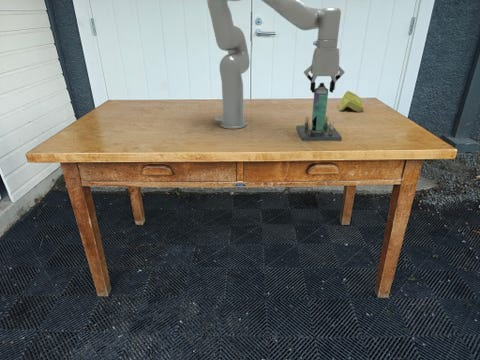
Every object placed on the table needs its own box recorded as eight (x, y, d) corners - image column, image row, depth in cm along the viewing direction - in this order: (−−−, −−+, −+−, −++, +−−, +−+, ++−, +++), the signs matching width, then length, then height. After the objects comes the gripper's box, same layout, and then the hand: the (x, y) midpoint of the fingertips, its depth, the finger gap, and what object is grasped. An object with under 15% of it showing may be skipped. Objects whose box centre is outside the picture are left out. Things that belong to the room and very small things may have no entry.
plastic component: (363, 108, 166) (347, 99, 166) (355, 120, 170) (339, 111, 170) (361, 97, 183) (345, 89, 182) (353, 108, 187) (338, 100, 186)
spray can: (321, 128, 140) (326, 81, 131) (325, 132, 135) (330, 84, 126) (309, 129, 139) (313, 82, 130) (312, 133, 135) (317, 84, 126)
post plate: (302, 140, 131) (303, 125, 128) (296, 128, 145) (297, 114, 142) (341, 140, 130) (343, 125, 128) (331, 128, 145) (333, 114, 142)
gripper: (305, 45, 118) (302, 94, 126) (352, 45, 118) (345, 93, 126) (302, 44, 125) (299, 90, 133) (347, 43, 125) (340, 90, 133)
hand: (322, 91), depth 130 cm, fingers open, 6 cm apart
